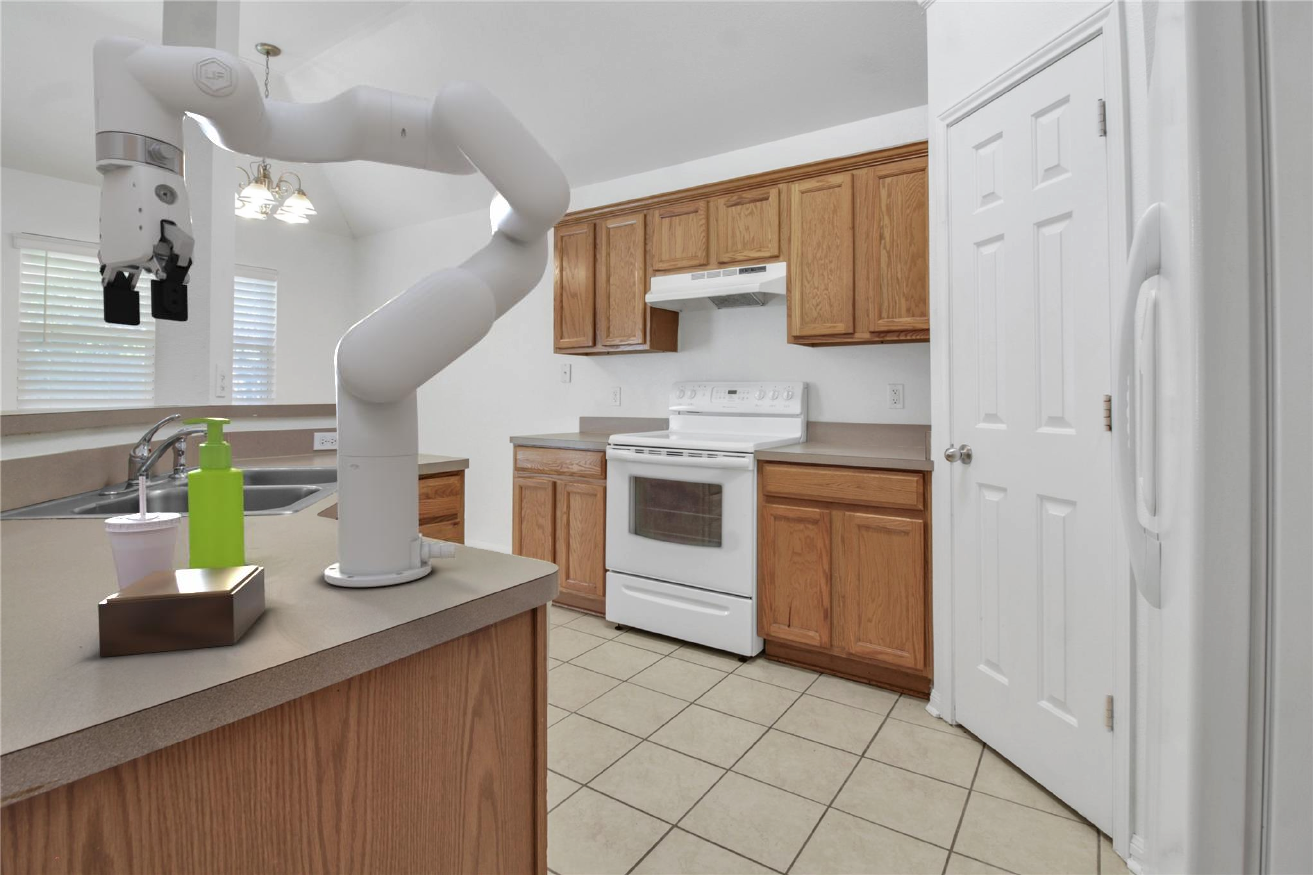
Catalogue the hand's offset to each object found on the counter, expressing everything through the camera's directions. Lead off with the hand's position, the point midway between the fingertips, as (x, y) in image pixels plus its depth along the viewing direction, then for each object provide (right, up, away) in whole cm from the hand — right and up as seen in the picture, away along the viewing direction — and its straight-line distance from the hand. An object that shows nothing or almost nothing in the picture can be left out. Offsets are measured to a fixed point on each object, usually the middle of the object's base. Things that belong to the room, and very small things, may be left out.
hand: (145, 322), depth 69 cm
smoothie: (+2, -31, -2) cm, 31 cm away
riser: (+12, -31, -9) cm, 35 cm away
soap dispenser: (-1, -30, +13) cm, 33 cm away
